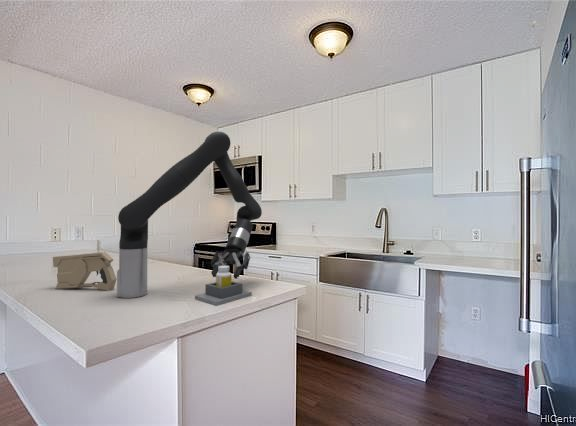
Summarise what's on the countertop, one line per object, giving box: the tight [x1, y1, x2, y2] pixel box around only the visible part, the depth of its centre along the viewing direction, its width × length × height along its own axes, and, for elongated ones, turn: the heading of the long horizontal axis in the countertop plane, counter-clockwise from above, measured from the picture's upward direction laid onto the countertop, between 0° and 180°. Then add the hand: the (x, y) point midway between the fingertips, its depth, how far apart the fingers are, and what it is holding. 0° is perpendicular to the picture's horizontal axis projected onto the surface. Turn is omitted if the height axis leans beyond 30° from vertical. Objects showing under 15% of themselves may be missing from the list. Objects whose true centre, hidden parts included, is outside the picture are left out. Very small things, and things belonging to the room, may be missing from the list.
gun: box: [52, 251, 117, 292], centre depth 119 cm, size 24×3×15 cm, turn 84°
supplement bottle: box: [215, 265, 232, 287], centre depth 108 cm, size 5×5×10 cm
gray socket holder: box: [194, 280, 253, 306], centre depth 108 cm, size 16×12×5 cm
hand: (224, 276), depth 108 cm, fingers open, 8 cm apart
